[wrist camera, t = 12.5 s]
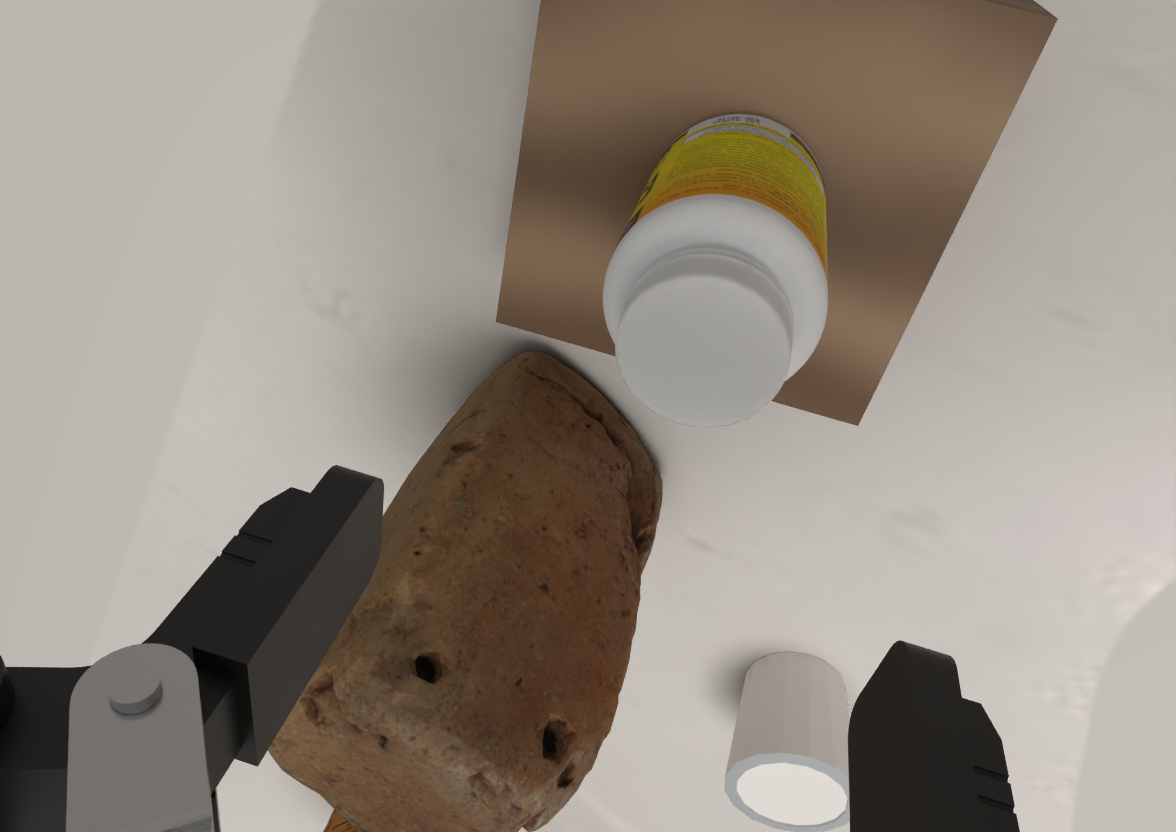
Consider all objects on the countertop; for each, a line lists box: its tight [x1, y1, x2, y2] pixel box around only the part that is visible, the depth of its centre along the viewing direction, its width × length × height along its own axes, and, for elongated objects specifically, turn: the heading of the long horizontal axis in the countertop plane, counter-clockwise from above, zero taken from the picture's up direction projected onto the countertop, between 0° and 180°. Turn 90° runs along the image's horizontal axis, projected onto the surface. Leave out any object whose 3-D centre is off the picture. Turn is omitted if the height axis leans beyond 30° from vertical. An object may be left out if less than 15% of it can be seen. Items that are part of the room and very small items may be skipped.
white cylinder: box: [725, 652, 850, 832], centre depth 45 cm, size 7×7×7 cm
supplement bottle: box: [603, 114, 828, 427], centre depth 23 cm, size 6×6×10 cm
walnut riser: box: [496, 0, 1057, 426], centre depth 29 cm, size 14×14×6 cm
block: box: [268, 352, 662, 832], centre depth 33 cm, size 11×8×20 cm
